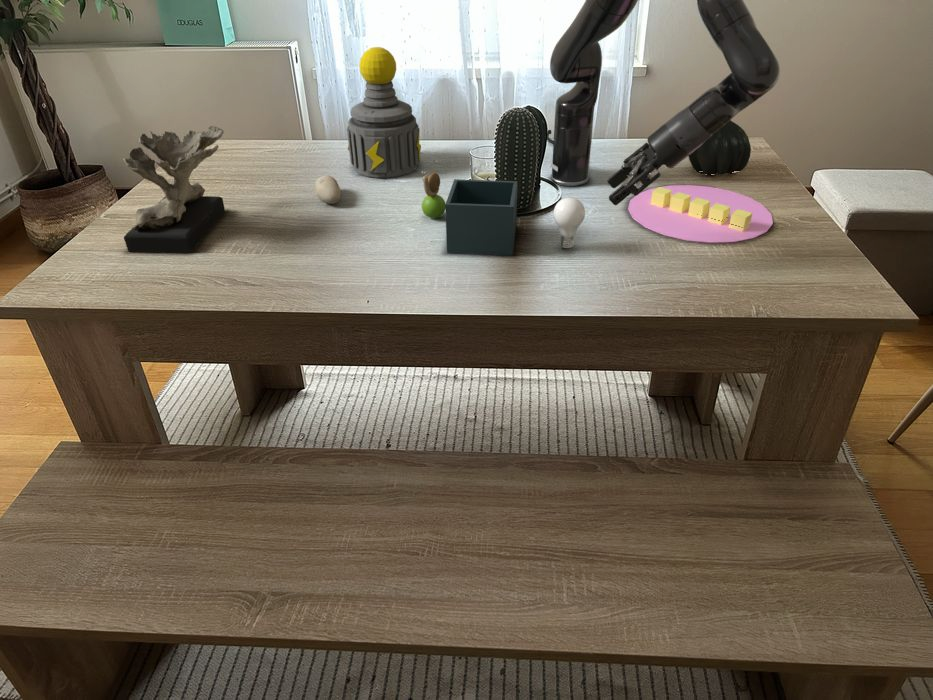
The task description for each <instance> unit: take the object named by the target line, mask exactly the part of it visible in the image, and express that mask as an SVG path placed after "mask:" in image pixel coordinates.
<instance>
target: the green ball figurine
mask: <svg viewBox="0 0 933 700" xmlns="http://www.w3.org/2000/svg"><path fill="white" fill-rule="evenodd" d="M427 173H428V172H427V171H423V170H422V171H421V174H422V175H423V176H422V182H423V189H424V192H425V194H426V196H424V198H423V200H422V202H421V210H422V212H423V214H424V215H425V216H426V217H427V218H429V219H438V218H440V217H441V216H443V215H444V213H446V209H445V204H446V201H445V199H444V198H443V197H442V196H441V195H440V194H438V193H439V191H440V185H441V177H440V175H439V173H438V172H431V173H430V174H429V176H427Z"/></svg>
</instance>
